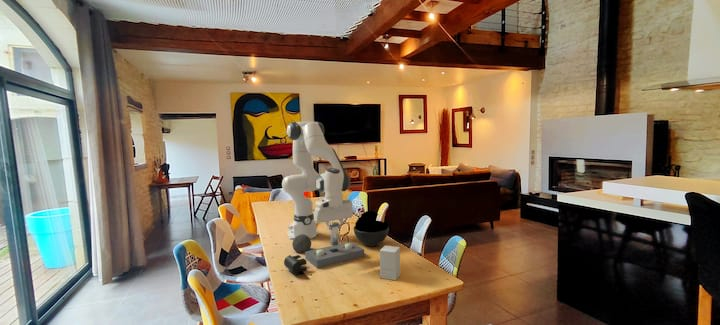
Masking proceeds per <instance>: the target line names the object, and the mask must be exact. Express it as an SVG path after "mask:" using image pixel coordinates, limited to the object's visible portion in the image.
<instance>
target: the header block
mask: <svg viewBox="0 0 720 325" xmlns="http://www.w3.org/2000/svg"><path fill="white" fill-rule="evenodd" d="M342 244H343V247H342ZM304 254H305V258H304V259H305V260H306V261H308V262H309V264H311V265H312V266H314V267H315V268H316V269H320V268H324V267H328V266H333V265H336V264H340V263H345V262H348V261H352V260H356V259H361V258H365V249H364V248H362V247H360V246H359V245H356V243H354V242H352V241H348V242H344V243H339V245H336V246H333V245H330V246H326V247H325V246H324V247H321V248H320V247H319V248H316V249H312V250H310V249H309V250H308V251H306V252H304Z"/></svg>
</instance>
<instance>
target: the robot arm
mask: <svg viewBox="0 0 720 325" xmlns="http://www.w3.org/2000/svg"><path fill="white" fill-rule="evenodd" d="M286 135H287V137H288V139H289V140H292V164H293V166H294V167H295V168H298V169H300V170H301V174H298V173H297V174H291V175H288V176H285V177H284V178H282V180H281V181H282V182H281V187H282V189H283V192H284V193H287V194H288V195H289V196H290V197H291V199H292V201H293V206H294V207H293V208H294V213H293V220H292V222H290V223H289V224H290V225H289V226H288V230H286V234H287V236H288V239H289V240H294V238H295V237H296V236H298V235H300V234H304V235H307V236H308V237H309V238H310V240H311V239H313V238H315V237H317V235H319V231H317V224H321V223H322V224H323V223H324V224H325V225H326V226H327V230H328V231H330V230H331V226H330V222H335V221H338V223H339V226H338V229H341V228H342V224H343V222H344V220H345V219H351V218H353V215H354V212H353V201H352V200H350V199H343V195H344V194H343V192H346V191H347V190H349V188H350V186H351V178H350V175H349V174H348V173H347V170H345V167H344V165H343V164H342V162H341V160H340V158H339V156H338V153H337V152H336V150H335V149H334V148H333V147H331V146H330V145H329V143H328V142H327V140H326V138H325V136H324V135H325V126H324V124H323V123H322V122H319V121H307V120H305V121H293V122H289V123H288V125H287V126H286ZM312 156H313V157H315V158H320V159H323V160H325V161H327V162H329V163H330V166H331V167H332V168H331V167H330V168H326V170H324V172H323V173H322V174H321V173H318V172H317V171H316V170H315V168H314V166H313V162H312ZM314 191H318V192H319V193H324V197H323V198H321V199H319V200H317V201H315V208H314V206H313V201H312V199H311V198H309V197H306V196H305V194H304V193H305V192H314Z"/></svg>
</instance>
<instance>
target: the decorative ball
mask: <svg viewBox="0 0 720 325" xmlns="http://www.w3.org/2000/svg"><path fill="white" fill-rule="evenodd" d="M311 246H312V240H311V239H310V238H309V237H308V236H307V235H304V234H300V235H298V236H296V237H295V238H294V239H292V250H293V251H295V252H296V253H300V254H301V253H302V254H305V252H306V251H310V249H311Z"/></svg>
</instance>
